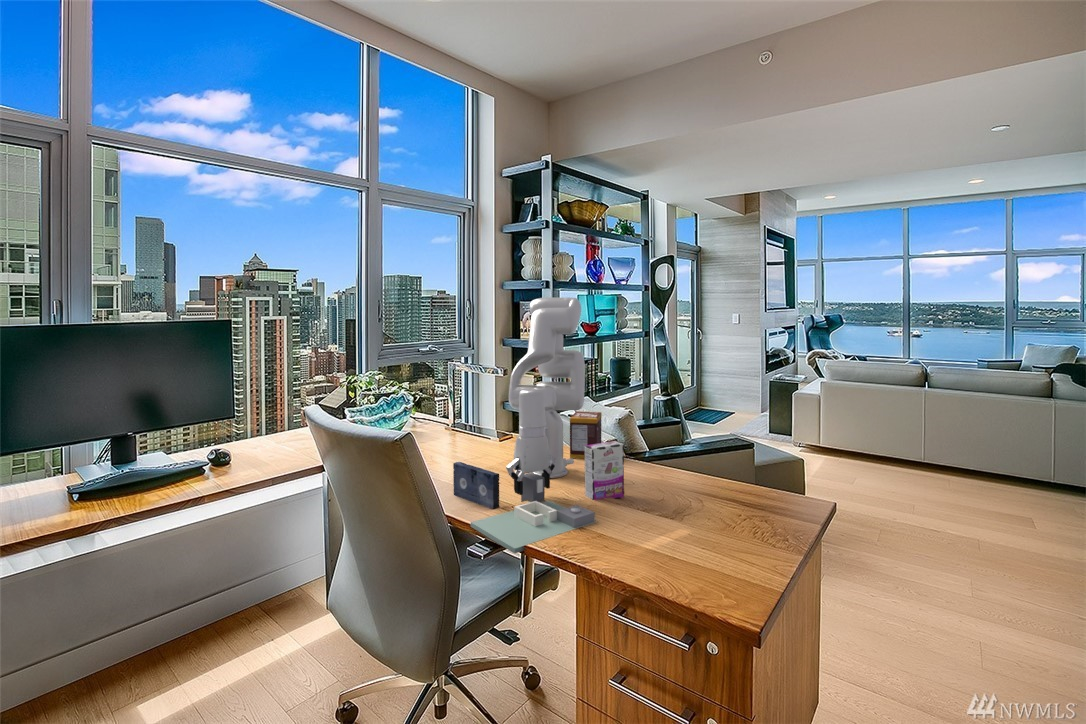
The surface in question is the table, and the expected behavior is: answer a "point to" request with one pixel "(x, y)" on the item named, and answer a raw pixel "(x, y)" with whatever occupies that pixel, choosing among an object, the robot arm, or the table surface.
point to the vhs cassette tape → (476, 485)
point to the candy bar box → (604, 470)
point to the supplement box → (584, 432)
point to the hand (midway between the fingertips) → (532, 490)
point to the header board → (523, 525)
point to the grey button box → (575, 516)
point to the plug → (533, 488)
